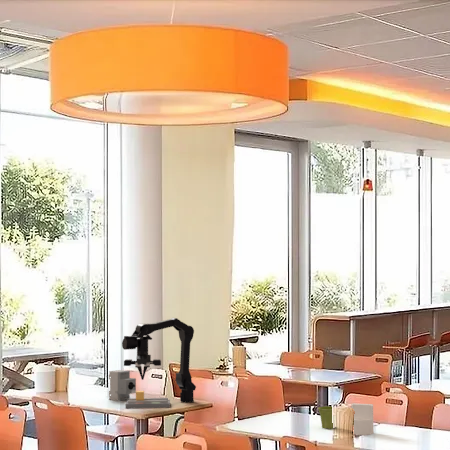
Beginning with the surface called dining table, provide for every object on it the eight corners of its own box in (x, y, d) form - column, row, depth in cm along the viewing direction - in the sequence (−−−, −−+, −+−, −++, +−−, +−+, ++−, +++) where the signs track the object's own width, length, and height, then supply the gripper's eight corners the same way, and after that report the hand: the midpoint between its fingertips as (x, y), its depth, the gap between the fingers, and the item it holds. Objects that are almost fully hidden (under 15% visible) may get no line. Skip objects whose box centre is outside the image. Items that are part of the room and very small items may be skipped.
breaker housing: (170, 403, 489) (170, 397, 489) (169, 407, 475) (169, 401, 475) (127, 404, 488) (127, 397, 488) (125, 408, 474) (125, 401, 474)
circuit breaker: (128, 401, 498) (128, 372, 498) (108, 399, 506) (108, 371, 507) (138, 399, 504) (138, 371, 504) (118, 397, 512) (118, 370, 513)
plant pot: (325, 430, 404) (324, 410, 404) (314, 427, 413) (314, 407, 413) (344, 428, 408) (343, 408, 408) (333, 425, 416) (332, 405, 417)
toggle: (144, 400, 484) (144, 390, 484) (143, 402, 479) (143, 392, 479) (136, 400, 484) (136, 390, 484) (135, 402, 479) (135, 392, 479)
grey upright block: (349, 434, 394) (349, 405, 395) (354, 430, 403) (354, 402, 403) (371, 435, 391) (370, 406, 392) (375, 432, 399) (375, 403, 400)
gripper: (123, 350, 474) (123, 381, 474) (160, 350, 475) (160, 381, 474) (124, 348, 485) (124, 379, 485) (161, 348, 486) (161, 378, 486)
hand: (142, 379), depth 482 cm, fingers closed
